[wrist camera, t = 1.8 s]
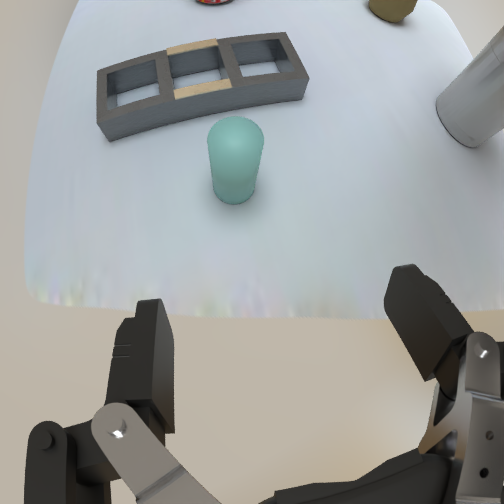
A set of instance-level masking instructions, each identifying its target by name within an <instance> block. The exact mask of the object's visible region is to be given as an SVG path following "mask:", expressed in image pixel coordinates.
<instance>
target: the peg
mask: <svg viewBox="0 0 504 504" xmlns="http://www.w3.org/2000/svg"><path fill="white" fill-rule="evenodd" d="M207 143H208V150H209V158H210V166H211V173H212V180H213V188H214V192H215V194H216V195H217V197H218V198H219V199H220V200H222V201H223V202H225V203H228V204H240V203H243V202H245V201H246V200H248V199H249V198H250V197H251V195H252V193H253V191H254V187H255V182H256V178H257V173H258V168H259V164H260V159H261V154H262V149H263V145H264V136H263V133H262V131H261V129H260V128H259V126H258V125H257V124H256V123H254V122H253V121H251V120H249V119H247V118H244V117H238V116H233V117H227V118H224V119H222V120H220V121H218V122H217V123H216V124H214V125H213V127H212V128H211V129H210V131H209V134H208V138H207Z"/></svg>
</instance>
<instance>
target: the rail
mask: <svg viewBox="0 0 504 504" xmlns="http://www.w3.org/2000/svg"><path fill="white" fill-rule="evenodd" d="M166 49H167V50H163V51H159V52H155V53H151V54H148V55H144V56H141V57H137V58H134V59H130V60H127V61H124V62H121V63H118V64H115V65H112V66H109V67H106V68H103V69H100V70H98V71H97V125H98V126H99V127H100V129H101V130H102V132H103V133H104V135H105V136H106V138H107V139H108V141H109V142H111V141H114V140H117V139H120V138H123V137H126V136H129V135H133V134H136V133H139V132H143V131H146V130H150V129H153V128H157V127H160V126H164V125H168V124H172V123H176V122H180V121H184V120H188V119H192V118H196V117H201V116H205V115H210V114H215V113H220V112H225V111H230V110H235V109H241V108H247V107H253V106H259V105H265V104H272V103H279V102H287V101H295V100H302V98H303V95H304V93H305V90H306V87H307V84H308V81H309V76H308V74H307V72H306V70H305V68H304V66H303V64H302V62H301V60H300V58H299V56H298V54H297V52H296V51H295V49H294V47H293V45H292V43H291V41H290V39H289V38H288V36H287V34H286V32H280V33H266V34H255V35H246V36H238V37H230V38H223V39H217V40H216V39H210V40H204V41H199V42H193V43H188V44H184V45H179V46H175V47H170V48H166ZM267 61H275V63H276V65H277V67H278V69H279V71H280V73H272V74H264V75H256V76H249V77H243V76H242V74H241V71H240V68H239V65H243V64H251V63H259V62H267ZM218 68H219V71H220V74H221V77H222V80H217V81H212V82H207V83H202V84H197V85H193V86H188V87H184V88H179V89H174V83H173V78H175V77H179V76H184V75H188V74H193V73H197V72H202V71H207V70H213V69H218ZM155 82H158V84H159V91H160V95H157V96H153V97H150V98H146V99H143V100H139V101H136V102H132V103H129V104H126V105H123V106H120V107H117V94H118V93H122V92H125V91H128V90H131V89H134V88H138V87H141V86H145V85H148V84H152V83H155Z"/></svg>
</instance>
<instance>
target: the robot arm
mask: <svg viewBox="0 0 504 504" xmlns="http://www.w3.org/2000/svg"><path fill="white" fill-rule="evenodd" d="M436 107H437V112H438V114H439V117H440V119H441V121H442V123H443V124H444V126H445V127H446V129H447V130H448V131H449V132H450V134H451V135H452V136H453V137H454V138H455V139H456V140H458V141H459V142H460V143H462V144H464V145H465V146H468V147H477V146H479V145H480V144H482V143H483V142H485V141H486V140H488V139H489V138H490V137H492V136H493V135H495V134H496V133H498V132H499V131H501V130H502V129H503V128H504V27H502V29H501V30H500V31H499V32H498V33H497V34H496V35H495V36H494V37H493V39H492V40H491V41H490V42H489V43H488V44H487V45H486V46H485V48H484V49H483V50H482V51H481V52H480V53H479V54H478V55H477V56H476V57H475V58H474V59H473V61H472V62H471V63H470V64H469V65H468V66H467V67H466V68H465V69H464V70H463V71H462V72H461V73H460V74H459V76H458V77H457V78H456V79H455V80H454V81H453V82H452V83H451V84H450V85H449V86H448V87H447V88H446V89H445V90H444V91H443V92H442V93H441V95H440V96H439V97H438V98H437V101H436ZM384 308H385V312H386V314H387V316H388V317H389V319H390V321H391V322H392V324H393V326H394V328H395V329H396V331H397V333H398V334H399V336H400V338H401V339H402V341H403V343H404V345H405V347H406V348H407V350H408V352H409V354H410V355H411V357H412V359H413V361H414V363H415V365H416V366H417V368H418V370H419V372H420V374H421V376H422V378H423V379H424V381H425V382H426V381H428V380H431V379H433V378H436V379H437V381H438V382H437V384H436V386H435V390H434V396H433V401H432V407H431V412H430V417H429V422H428V426H427V430H426V433H425V435H424V437H423V438H422V440H421V442H420V444H419V446H418V448H416V449H414V450H411V451H409V452H406V453H404V454H402V455H399V456H397V457H394V458H392V459H389V460H387V461H385V462H384V463H382V464H381V465H379V466H378V467H377V468H375V469H373V470H372V471H370V472H369V473H367V474H366V475H364V476H362V477H361V478H359V479H357V480H355V481H349V482H332V483H312V484H307V485H303V486H298V487H294V488H288V489H283V490H278V491H275V493H274V496H273V497H271V498H268V499H266V500H264V501H262V502H261V503H259V504H504V486H503V481H504V342H496V341H495V340H494V339H493V338H492V337H491V336H489V335H488V334H486V333H484V332H474V331H473V330H472V328H471V327H470V325H469V324H468V323H467V321H466V320H465V318H464V317H463V316H462V315H461V313H460V312H459V310H458V309H457V308H456V306H455V305H454V304H453V303H451V300H450V298H449V297H448V296H447V295H445V292H444V291H443V290H442V288H441V287H440V286H439V285H438V283H436V282H435V281H434V280H432V279H431V278H429V277H428V276H427V275H424V274H423V273H422V272H421V271H420V269H419V268H418V267H417V266H416V265H415V264H409V265H403V266H397V267H395V268H394V269H393V271H392V274H391V277H390V281H389V284H388V287H387V291H386V294H385V297H384ZM114 345H115V347H114V349H113V354H112V356H113V358H112V360H111V367H110V373H109V380H108V387H107V394H106V400H105V404H104V406H103V407H102V408H100V409H99V410H98V411H97V412H96V414H95V415H94V417H93V419H91V420H89V421H87V422H84V423H81V424H77V425H74V426H70V427H66V428H62V427H61V426H60V425H59V424H57V423H55V422H53V421H44V422H41V423H39V424H38V425H36V426H35V427H34V428H33V429H32V431H31V433H30V435H29V439H28V446H27V457H26V468H25V485H24V504H111V489H110V481H113V480H117V479H121V478H122V479H123V480H124V482H125V483H126V484H127V486H128V487H129V488H130V490H131V491H132V492H133V494H134V495H135V497H136V503H137V504H221V503H220V502H219V501H218V500H217V499H216V498H215V497H213V496H212V495H211V494H210V493H209V492H208V491H207V490H206V489H205V488H204V487H203V486H202V485H201V484H200V483H199V482H198V481H197V480H196V479H195V478H194V477H193V476H191V474H189V472H188V471H187V470H186V469H185V468H184V467H183V466H182V465H181V464H180V463H179V462H178V461H177V460H176V459H175V458H174V457H173V455H172V454H171V453H170V452H169V451H168V450H167V449H166V448H165V434H170V433H175V426H174V339H173V333H172V329H171V326H170V323H169V320H168V317H167V314H166V311H165V308H164V305H163V302H162V300H161V299H151V300H141V301H138V303H137V307H136V313H135V317H134V318H125V319H124V321H123V322H122V324H121V325H120V327H119V328H118V330H117V333H116V338H115V343H114Z"/></svg>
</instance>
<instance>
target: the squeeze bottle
mask: <svg viewBox="0 0 504 504" xmlns="http://www.w3.org/2000/svg"><path fill="white" fill-rule="evenodd" d="M416 3H417V0H369V7H370V9H371V11H372V12H373V13H375V14H376V15H377V16H379V17H380V18H382V19H384V20H386V21H390V22H399V21H400V20H401V19H403V18H404V17H406V16H407V15H409V14H410V13H411V12H413V10H414V7H415V5H416Z"/></svg>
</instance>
